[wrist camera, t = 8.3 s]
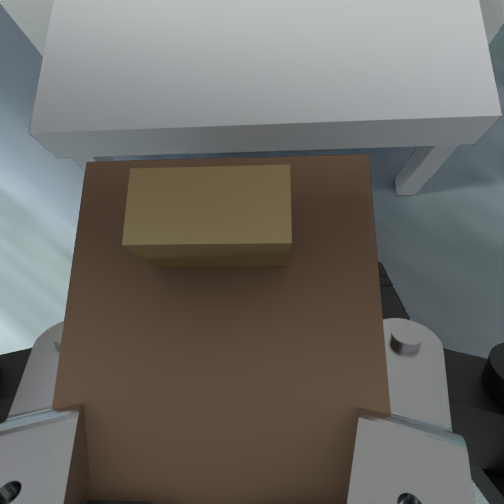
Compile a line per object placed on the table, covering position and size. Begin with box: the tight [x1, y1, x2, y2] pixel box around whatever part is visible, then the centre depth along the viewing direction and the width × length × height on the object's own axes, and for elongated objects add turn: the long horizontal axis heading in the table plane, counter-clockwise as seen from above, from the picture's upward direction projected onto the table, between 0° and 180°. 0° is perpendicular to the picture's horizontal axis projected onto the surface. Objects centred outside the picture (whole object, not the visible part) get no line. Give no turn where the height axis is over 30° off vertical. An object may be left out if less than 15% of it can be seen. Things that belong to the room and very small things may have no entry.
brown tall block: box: [52, 154, 391, 504], centre depth 9 cm, size 5×5×11 cm
